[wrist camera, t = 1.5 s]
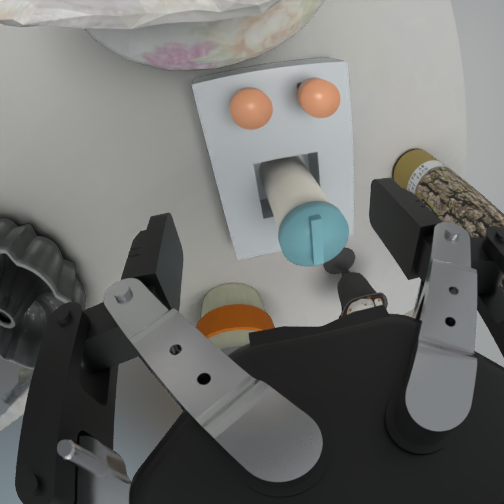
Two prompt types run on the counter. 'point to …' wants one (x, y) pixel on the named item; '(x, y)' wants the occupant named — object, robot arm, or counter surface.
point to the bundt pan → (31, 290)
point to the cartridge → (302, 213)
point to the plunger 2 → (318, 97)
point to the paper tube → (447, 194)
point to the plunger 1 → (250, 108)
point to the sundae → (353, 285)
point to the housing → (275, 144)
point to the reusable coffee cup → (232, 316)
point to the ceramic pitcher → (172, 27)
